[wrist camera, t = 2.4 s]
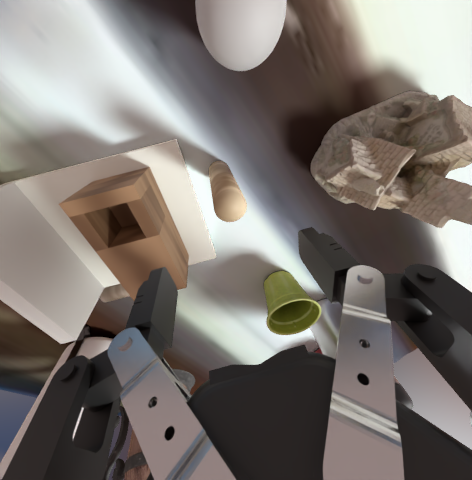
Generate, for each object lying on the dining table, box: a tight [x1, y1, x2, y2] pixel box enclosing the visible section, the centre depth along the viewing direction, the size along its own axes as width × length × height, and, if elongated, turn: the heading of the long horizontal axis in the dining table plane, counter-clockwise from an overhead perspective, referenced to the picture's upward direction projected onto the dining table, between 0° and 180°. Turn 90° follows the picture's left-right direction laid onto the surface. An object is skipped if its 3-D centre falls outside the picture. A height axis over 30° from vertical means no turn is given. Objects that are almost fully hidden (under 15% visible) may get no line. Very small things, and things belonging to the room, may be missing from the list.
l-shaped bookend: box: [0, 139, 216, 344], centre depth 25 cm, size 21×18×10 cm
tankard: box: [103, 369, 195, 480], centre depth 48 cm, size 24×17×20 cm
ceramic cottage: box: [311, 91, 472, 228], centre depth 23 cm, size 16×16×15 cm
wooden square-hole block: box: [59, 167, 189, 301], centre depth 25 cm, size 7×14×7 cm, turn 12°
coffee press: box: [0, 325, 113, 480], centre depth 31 cm, size 17×16×30 cm
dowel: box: [209, 161, 247, 222], centre depth 22 cm, size 3×3×12 cm
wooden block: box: [100, 284, 130, 302], centre depth 34 cm, size 10×3×3 cm
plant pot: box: [264, 271, 321, 335], centre depth 37 cm, size 9×9×9 cm
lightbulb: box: [195, 0, 286, 71], centre depth 16 cm, size 6×6×11 cm
